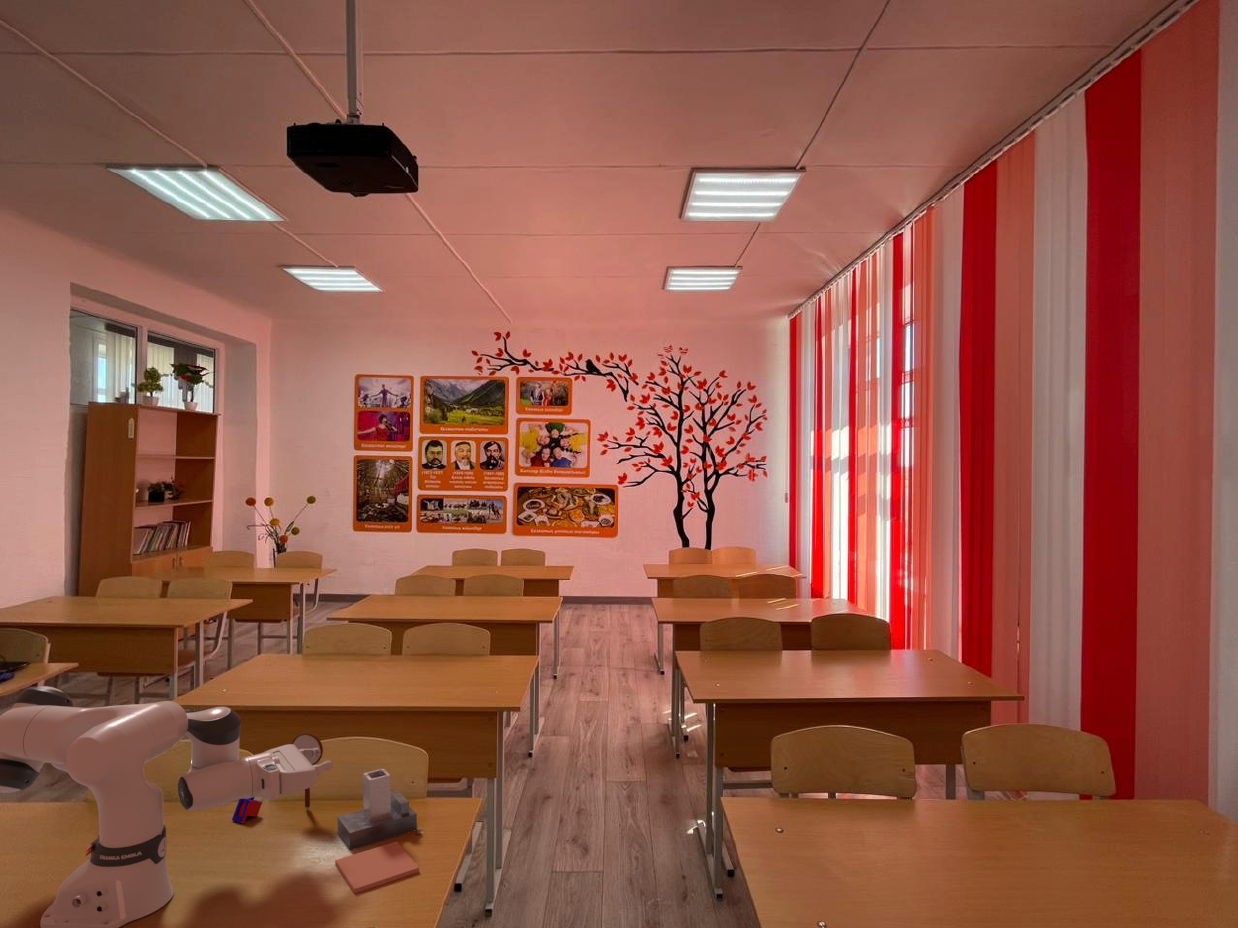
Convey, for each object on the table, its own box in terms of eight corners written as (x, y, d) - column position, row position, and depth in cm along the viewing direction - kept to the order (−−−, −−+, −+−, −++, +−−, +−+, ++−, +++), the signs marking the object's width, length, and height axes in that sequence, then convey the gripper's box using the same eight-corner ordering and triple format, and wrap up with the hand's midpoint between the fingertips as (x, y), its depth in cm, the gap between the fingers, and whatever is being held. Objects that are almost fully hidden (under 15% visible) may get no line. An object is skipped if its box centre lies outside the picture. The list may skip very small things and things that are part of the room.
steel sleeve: (370, 821, 182) (369, 780, 182) (363, 814, 186) (363, 773, 186) (390, 816, 185) (390, 775, 185) (383, 808, 189) (383, 768, 189)
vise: (350, 850, 177) (349, 794, 177) (337, 832, 185) (337, 779, 185) (416, 829, 186) (416, 776, 186) (402, 814, 194) (401, 763, 194)
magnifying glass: (290, 810, 197) (289, 733, 197) (294, 807, 198) (293, 730, 198) (321, 812, 195) (320, 734, 195) (324, 809, 197) (324, 732, 197)
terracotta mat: (354, 893, 159) (354, 888, 159) (335, 864, 171) (335, 859, 171) (419, 871, 167) (419, 867, 167) (396, 845, 179) (396, 841, 179)
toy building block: (254, 823, 193) (266, 790, 196) (241, 822, 190) (253, 788, 193) (244, 821, 195) (256, 787, 198) (231, 819, 191) (244, 785, 194)
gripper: (252, 772, 180) (313, 757, 189) (273, 803, 164) (339, 785, 172) (251, 745, 180) (312, 731, 188) (272, 774, 164) (338, 757, 172)
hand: (325, 757), depth 180 cm, fingers open, 8 cm apart
